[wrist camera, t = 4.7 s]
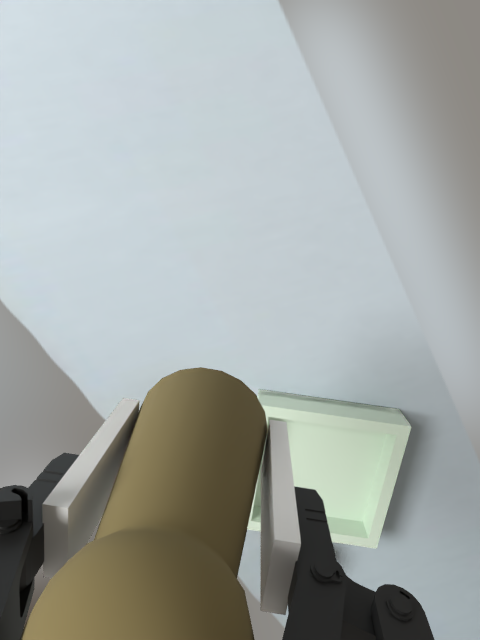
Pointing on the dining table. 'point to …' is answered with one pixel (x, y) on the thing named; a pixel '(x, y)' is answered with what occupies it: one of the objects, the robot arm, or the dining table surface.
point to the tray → (340, 460)
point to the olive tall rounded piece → (168, 523)
